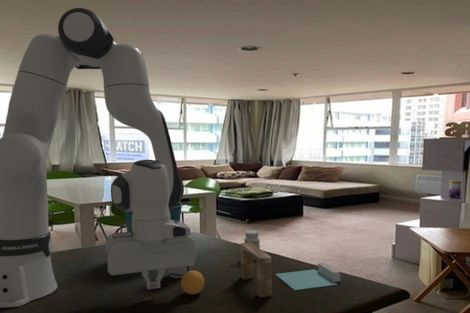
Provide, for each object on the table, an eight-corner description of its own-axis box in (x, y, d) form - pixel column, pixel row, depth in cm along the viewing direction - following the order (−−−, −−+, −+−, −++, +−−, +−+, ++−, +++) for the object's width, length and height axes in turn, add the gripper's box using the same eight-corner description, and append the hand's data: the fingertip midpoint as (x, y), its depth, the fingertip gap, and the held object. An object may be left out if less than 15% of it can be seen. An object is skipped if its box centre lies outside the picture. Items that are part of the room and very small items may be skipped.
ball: (183, 299, 91) (183, 276, 91) (179, 290, 96) (179, 268, 96) (206, 296, 92) (206, 273, 92) (201, 288, 98) (201, 266, 97)
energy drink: (185, 279, 104) (185, 234, 104) (166, 277, 105) (166, 233, 105) (191, 272, 109) (191, 230, 109) (173, 271, 110) (173, 229, 110)
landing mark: (294, 290, 96) (294, 289, 96) (275, 274, 107) (275, 273, 107) (337, 284, 99) (337, 284, 99) (314, 270, 110) (314, 269, 110)
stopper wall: (333, 282, 101) (333, 272, 101) (318, 272, 109) (318, 263, 108) (340, 281, 102) (340, 271, 101) (324, 271, 109) (324, 262, 109)
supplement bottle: (249, 255, 125) (248, 229, 125) (262, 257, 123) (262, 231, 123) (241, 259, 121) (241, 232, 121) (255, 261, 119) (255, 234, 118)
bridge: (259, 297, 92) (259, 258, 91) (240, 277, 105) (240, 243, 105) (271, 295, 92) (271, 257, 92) (251, 275, 106) (251, 242, 106)
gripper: (104, 237, 85) (107, 299, 86) (196, 228, 92) (198, 286, 92) (104, 230, 91) (107, 289, 92) (191, 222, 98) (192, 277, 98)
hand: (153, 287), depth 92 cm, fingers closed
